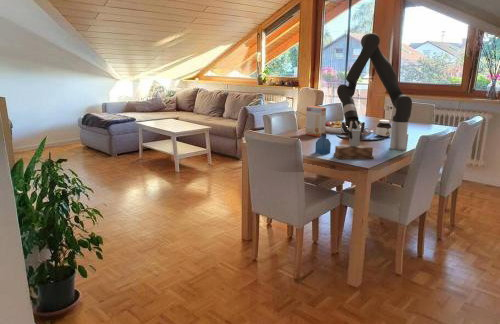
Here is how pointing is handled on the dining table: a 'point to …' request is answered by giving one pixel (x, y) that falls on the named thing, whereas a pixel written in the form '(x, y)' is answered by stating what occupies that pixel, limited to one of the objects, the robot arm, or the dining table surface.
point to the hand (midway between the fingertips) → (355, 138)
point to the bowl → (333, 127)
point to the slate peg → (355, 137)
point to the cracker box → (315, 120)
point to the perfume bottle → (323, 145)
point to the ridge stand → (353, 152)
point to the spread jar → (383, 128)
